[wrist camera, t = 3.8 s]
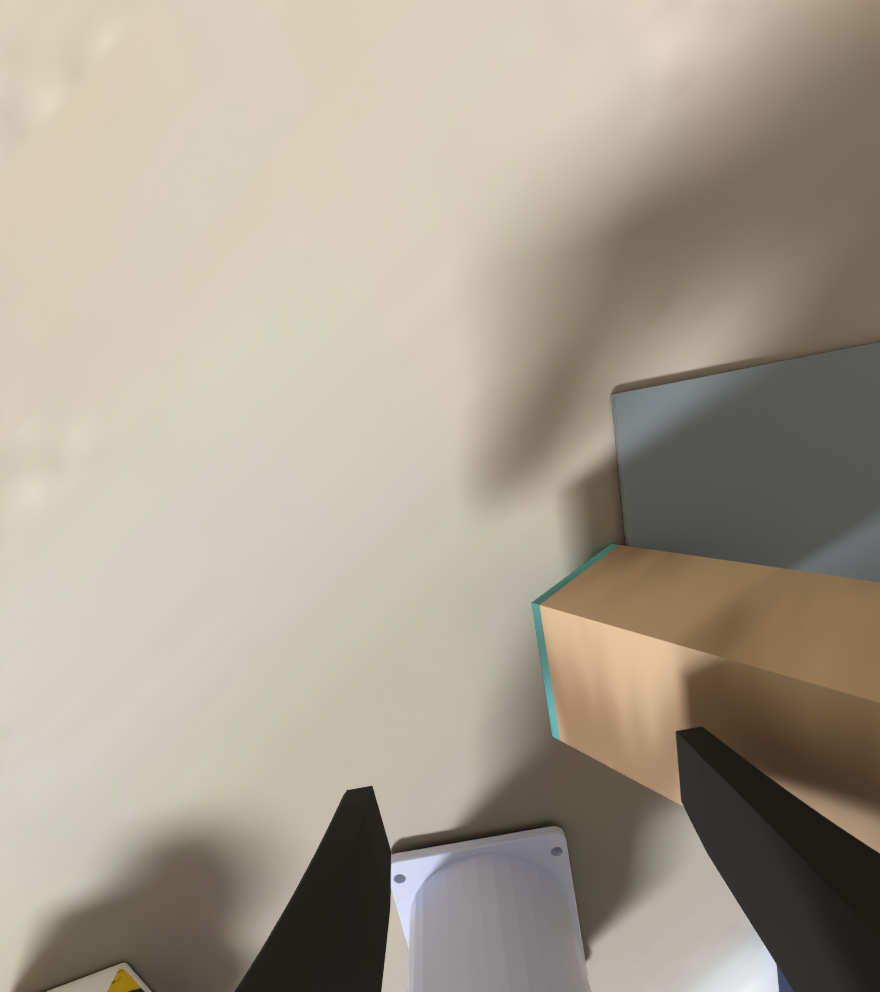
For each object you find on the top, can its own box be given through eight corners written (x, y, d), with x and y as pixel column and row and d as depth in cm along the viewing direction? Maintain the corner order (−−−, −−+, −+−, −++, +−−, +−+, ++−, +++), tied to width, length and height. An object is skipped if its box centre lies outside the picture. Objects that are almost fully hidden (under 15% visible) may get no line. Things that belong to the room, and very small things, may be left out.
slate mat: (974, 709, 19) (982, 714, 19) (647, 767, 20) (650, 773, 19) (1018, 314, 15) (1030, 313, 15) (610, 394, 16) (614, 394, 15)
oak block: (623, 658, 18) (964, 773, 12) (552, 736, 15) (962, 956, 8) (611, 543, 17) (984, 597, 10) (531, 602, 14) (989, 734, 7)
